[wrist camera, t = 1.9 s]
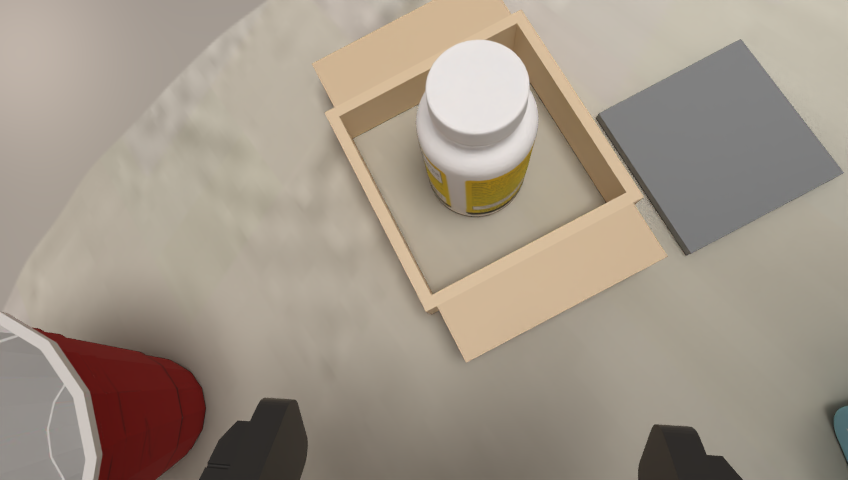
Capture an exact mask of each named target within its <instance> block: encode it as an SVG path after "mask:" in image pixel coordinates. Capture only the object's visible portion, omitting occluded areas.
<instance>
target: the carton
mask: <svg viewBox="0 0 848 480" xmlns="http://www.w3.org/2000/svg"><path fill="white" fill-rule="evenodd" d="M470 40H489V41H493V42H497V43H500V44H502V45H504V46H506V47H507V48H509V49H510V50H512V51H513V52H514V53H515V54H516V55H517V56H518V57H519V58H520V59H521V61H522V62H523V64H524V65H525V67H526V70H527V72H528V76H529V81H530V83H531V84H532V86H533V88H534V89H535V91H536V92H537V94H538V95H539V97H540V99H541V100H542V102H543V103H544V105H545V107H546V108H547V110H548V111H549V113H550V114H551V116H552V118H553V119H554V121H555V122H556V124H557V125H558V127H559V129H560V130H561V132H562V133H563V135H564V137H565V138H566V140H567V141H568V143H569V144H570V146H571V148H572V149H573V151H574V152H575V154H576V155H577V157H578V159H579V160H580V162H581V163H582V165H583V167H584V168H585V170H586V171H587V173H588V174H589V176H590V178H591V179H592V181H593V182H594V184H595V186H596V187H597V189H598V190H599V192H600V193H601V195H602V197H603V198H604V200H605V201H606V203H605V204H603V205H601V206H600V207H598V208H596V209H594V210H592V211H590V212H588V213H586V214H584V215H582V216H581V217H579V218H577V219H575V220H573V221H571V222H569V223H567V224H565V225H563V226H562V227H560V228H558V229H556V230H554V231H552V232H550V233H548V234H546V235H544V236H543V237H541V238H539V239H537V240H535V241H533V242H531V243H529V244H527V245H525V246H524V247H522V248H520V249H518V250H516V251H514V252H512V253H510V254H508V255H506V256H505V257H503V258H501V259H499V260H497V261H495V262H493V263H491V264H489V265H487V266H486V267H484V268H482V269H480V270H478V271H476V272H474V273H472V274H470V275H468V276H467V277H465V278H463V279H461V280H459V281H457V282H455V283H453V284H451V285H449V286H448V287H446V288H444V289H442V290H440V291H438V292H436V293H434V294H433V293H432V291H431V289H430V288H429V286H428V284H427V282H426V280H425V278H424V276H423V274H422V272H421V270H420V268H419V266H418V264H417V262H416V260H415V259H414V257H413V255H412V253H411V251H410V249H409V247H408V245H407V243H406V241H405V239H404V237H403V235H402V233H401V231H400V229H399V228H398V226H397V224H396V222H395V220H394V218H393V216H392V214H391V212H390V210H389V208H388V206H387V204H386V202H385V200H384V199H383V197H382V195H381V193H380V191H379V189H378V187H377V185H376V183H375V181H374V179H373V177H372V175H371V173H370V171H369V170H368V168H367V166H366V164H365V162H364V160H363V158H362V156H361V154H360V152H359V150H358V148H357V146H356V144H355V142H354V140H353V138H355V137H356V136H358V135H360V134H362V133H364V132H366V131H368V130H370V129H372V128H374V127H376V126H377V125H379V124H381V123H383V122H385V121H387V120H389V119H391V118H393V117H395V116H397V115H398V114H400V113H402V112H404V111H406V110H408V109H410V108H412V107H414V106H416V105H417V104H419V103H420V100H421V98H422V96H423V94H424V92H425V86H426V80H427V76H428V73H429V71H430V68H431V67H432V65H433V63H434V62H435V61H436V60H437V58H438V57H439V56H440V55H441V54H442V53H443V52H445V51H446V50H447V49H449V48H450V47H452V46H454V45H456V44H459V43H461V42H465V41H470ZM312 65H313V67H314V69H315V71H316V73H317V75H318V77H319V78H320V80H321V82H322V84H323V86H324V88H325V90H326V92H327V94H328V96H329V98H330V100H331V102H332V104H333V106H334V108H332V109H330V110H329V111H327V112H325V114H326V116H327V118H328V120H329V122H330V124H331V126H332V128H333V130H334V132H335V134H336V136H337V138H338V140H339V142H340V144H341V146H342V148H343V150H344V152H345V154H346V156H347V158H348V160H349V162H350V163H351V165H352V167H353V169H354V171H355V173H356V175H357V177H358V179H359V181H360V183H361V185H362V187H363V189H364V191H365V193H366V195H367V197H368V199H369V201H370V203H371V205H372V207H373V209H374V211H375V213H376V215H377V217H378V219H379V220H380V222H381V224H382V226H383V228H384V230H385V232H386V234H387V236H388V238H389V240H390V242H391V244H392V246H393V248H394V250H395V252H396V254H397V256H398V258H399V260H400V262H401V264H402V266H403V268H404V270H405V272H406V274H407V275H408V277H409V279H410V281H411V283H412V285H413V287H414V289H415V291H416V293H417V295H418V297H419V299H420V301H421V303H422V305H423V307H424V309H425V311H426V312H427V313H429V314H433V313H435V312H437V311H440V313H441V315H442V317H443V319H444V321H445V323H446V325H447V327H448V329H449V330H450V332H451V334H452V336H453V338H454V340H455V342H456V344H457V346H458V348H459V350H460V352H461V354H462V356H463V358H464V360H465V361H466V362H468V361H470V360H472V359H474V358H476V357H478V356H480V355H482V354H484V353H485V352H487V351H489V350H491V349H493V348H495V347H497V346H499V345H501V344H503V343H504V342H506V341H508V340H510V339H512V338H514V337H516V336H518V335H520V334H522V333H523V332H525V331H527V330H529V329H531V328H533V327H535V326H537V325H539V324H541V323H542V322H544V321H546V320H548V319H550V318H552V317H554V316H556V315H558V314H559V313H561V312H563V311H565V310H567V309H569V308H571V307H573V306H575V305H577V304H578V303H580V302H582V301H584V300H586V299H588V298H590V297H592V296H594V295H596V294H597V293H599V292H601V291H603V290H605V289H607V288H609V287H611V286H613V285H615V284H616V283H618V282H620V281H622V280H624V279H626V278H628V277H630V276H632V275H634V274H635V273H637V272H639V271H641V270H643V269H645V268H647V267H649V266H651V265H652V264H654V263H656V262H658V261H660V260H662V259H664V258H666V257H668V256H667V254H666V253H665V251H664V250H663V248H662V246H661V245H660V243H659V242H658V240H657V239H656V237H655V236H654V234H653V233H652V231H651V229H650V228H649V226H648V225H647V223H646V222H645V220H644V219H643V217H642V216H641V214H640V212H639V211H638V209H637V208H636V206H635V204H636V203H637V202H639V201H640V200H641V199H642V198H643V197H644V196H643V195H642V193H641V192H640V190H639V188H638V187H637V185H636V184H635V182H634V181H633V179H632V178H631V176H630V175H629V173H628V172H627V170H626V169H625V167H624V166H623V164H622V163H621V161H620V159H619V158H618V156H617V155H616V153H615V152H614V150H613V149H612V147H611V146H610V144H609V143H608V141H607V140H606V138H605V137H604V135H603V133H602V132H601V130H600V129H599V127H598V126H597V124H596V123H595V121H594V120H593V118H592V117H591V115H590V114H589V112H588V111H587V109H586V107H585V106H584V104H583V103H582V101H581V100H580V98H579V97H578V95H577V94H576V92H575V91H574V89H573V88H572V86H571V85H570V83H569V82H568V80H567V78H566V77H565V75H564V74H563V72H562V71H561V69H560V68H559V66H558V65H557V63H556V62H555V60H554V59H553V57H552V56H551V54H550V52H549V51H548V49H547V48H546V46H545V45H544V43H543V42H542V40H541V39H540V37H539V36H538V34H537V33H536V31H535V30H534V28H533V27H532V25H531V23H530V22H529V20H528V19H527V17H526V16H525V14H524V13H523V11H522V10H519V11H517V12H516V13H514V14H512V15H511V13H510V11H509V10H508V8H507V7H506V5H505V4H504V2H503V1H502V0H433V1H431V2H429V3H427V4H425V5H423V6H421V7H419V8H417V9H416V10H414V11H412V12H410V13H408V14H406V15H404V16H402V17H400V18H398V19H396V20H395V21H393V22H391V23H389V24H387V25H385V26H383V27H381V28H379V29H377V30H375V31H374V32H372V33H370V34H368V35H366V36H364V37H362V38H360V39H358V40H356V41H354V42H352V43H351V44H349V45H347V46H345V47H343V48H341V49H339V50H337V51H335V52H333V53H331V54H330V55H328V56H326V57H324V58H322V59H320V60H318V61H316V62H314V63H312Z"/></svg>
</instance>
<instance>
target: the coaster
mask: <svg viewBox="0 0 848 480" xmlns="http://www.w3.org/2000/svg"><path fill="white" fill-rule="evenodd" d="M596 119H597V120H598V122H599V123H600V125H601V126H602V128H603V129H604V131H605V132H606V134H607V135H608V137H609V138H610V140H611V142H612V143H613V145H614V146H615V148H616V149H617V151H618V152H619V154H620V155H621V157H622V158H623V160H624V161H625V163H626V164H627V166H628V167H629V169H630V170H631V172H632V173H633V175H634V177H635V178H636V180H637V181H638V183H639V184H640V186H641V187H642V189H643V190H644V192H645V193H646V195H647V196H648V198H649V199H650V201H651V202H652V204H653V205H654V207H655V209H656V210H657V212H658V213H659V215H660V216H661V218H662V219H663V221H664V222H665V224H666V225H667V227H668V228H669V230H670V231H671V233H672V234H673V236H674V237H675V239H676V241H677V242H678V244H679V245H680V247H681V248H682V250H683V251H684V253H685V254H686V255H688V254H691V253H693V252H695V251H697V250H699V249H701V248H702V247H704V246H706V245H708V244H710V243H712V242H714V241H716V240H718V239H719V238H721V237H723V236H725V235H727V234H729V233H731V232H733V231H735V230H737V229H738V228H740V227H742V226H744V225H746V224H748V223H750V222H752V221H754V220H756V219H757V218H759V217H761V216H763V215H765V214H767V213H769V212H771V211H773V210H775V209H776V208H778V207H780V206H782V205H784V204H786V203H788V202H790V201H792V200H793V199H795V198H797V197H799V196H801V195H803V194H805V193H807V192H809V191H811V190H812V189H814V188H816V187H818V186H820V185H822V184H824V183H826V182H828V181H830V180H831V179H833V178H835V177H837V176H839V175H841V174H843V173H844V172H843V171H842V170H841V168H840V167H839V166H838V165H837V163H836V162H835V161H834V159H833V158H832V157H831V155H830V154H829V153H828V152H827V150H826V149H825V148H824V146H823V145H822V144H821V142H820V141H819V140H818V139H817V137H816V136H815V135H814V133H813V132H812V131H811V129H810V128H809V127H808V126H807V124H806V123H805V122H804V120H803V119H802V118H801V116H800V115H799V114H798V113H797V111H796V110H795V109H794V107H793V106H792V105H791V103H790V102H789V101H788V100H787V98H786V97H785V96H784V94H783V93H782V92H781V90H780V89H779V88H778V87H777V85H776V84H775V83H774V81H773V80H772V79H771V77H770V76H769V75H768V74H767V72H766V71H765V70H764V68H763V67H762V66H761V64H760V63H759V62H758V61H757V59H756V58H755V57H754V55H753V54H752V53H751V51H750V50H749V49H748V48H747V46H746V45H745V44H744V42H743V41H742V40H741V39H740V40H738V41H736V42H734V43H732V44H730V45H728V46H726V47H725V48H723V49H721V50H719V51H717V52H715V53H713V54H711V55H709V56H707V57H706V58H704V59H702V60H700V61H698V62H696V63H694V64H692V65H690V66H688V67H686V68H685V69H683V70H681V71H679V72H677V73H675V74H673V75H671V76H669V77H667V78H666V79H664V80H662V81H660V82H658V83H656V84H654V85H652V86H650V87H648V88H647V89H645V90H643V91H641V92H639V93H637V94H635V95H633V96H631V97H629V98H627V99H626V100H624V101H622V102H620V103H618V104H616V105H614V106H612V107H610V108H608V109H607V110H605V111H603V112H601V113H599V114H598V116H597V118H596Z"/></svg>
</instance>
